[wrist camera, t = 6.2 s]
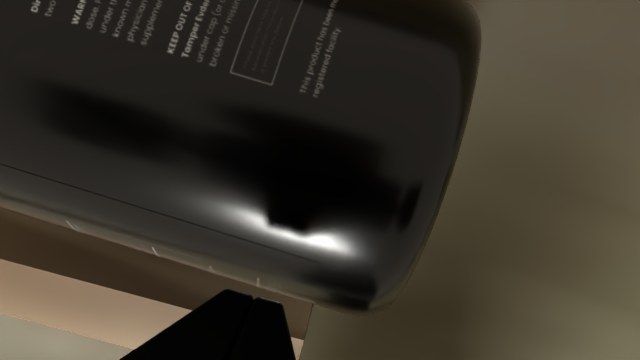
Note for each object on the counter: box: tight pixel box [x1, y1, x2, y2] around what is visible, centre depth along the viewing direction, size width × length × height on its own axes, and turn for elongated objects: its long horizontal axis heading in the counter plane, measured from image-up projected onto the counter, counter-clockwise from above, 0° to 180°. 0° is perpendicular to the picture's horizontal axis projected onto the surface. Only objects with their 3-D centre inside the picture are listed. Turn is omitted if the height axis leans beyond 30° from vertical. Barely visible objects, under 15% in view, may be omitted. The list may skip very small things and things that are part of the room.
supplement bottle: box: [0, 0, 481, 316], centre depth 11 cm, size 7×7×12 cm
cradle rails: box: [0, 208, 312, 360], centre depth 14 cm, size 14×13×2 cm
